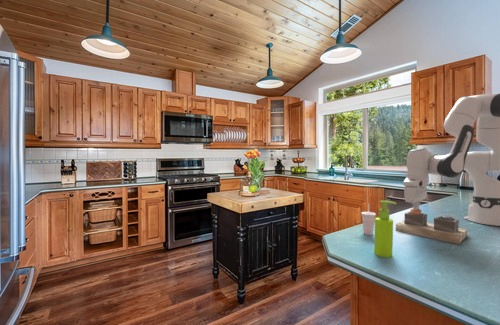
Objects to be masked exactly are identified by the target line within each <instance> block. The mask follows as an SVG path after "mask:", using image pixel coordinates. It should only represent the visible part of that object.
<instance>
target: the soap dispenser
mask: <svg viewBox="0 0 500 325" xmlns="http://www.w3.org/2000/svg"><path fill="white" fill-rule="evenodd" d="M379 203H380V204H381V208H379V209H378V216H377V217H375V222H374V251H373V252H374V254H375V255H376V256H379V257H383V258H391V257H393V240H394V239H393V238H394V220H393V219H392V218H390V210H389V209H388V204H392V205H395V206H396V205H397V202H395V201H392V200H391V201H390V200H380V201H379Z"/></svg>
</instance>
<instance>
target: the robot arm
mask: <svg viewBox="0 0 500 325" xmlns="http://www.w3.org/2000/svg"><path fill="white" fill-rule="evenodd" d="M475 123H476V132H475V129H474V128H473V127H474V124H475ZM443 129H444V131H445V132H446V133H447V134H449V135H450V136H453V137H455V139H454V142H453V144H452V146H451V149H450V152H449V153H447V154H444V155H442V154H441V155H438V154H435V153H433V152H431V151H430V150H428V149H427V148H425V147H420V148H419V147H418V148H412V149H410V150H409V151H408V154H407V156H406V169H407V170H406V177H405V179H404V180H403V184H402V185H403V186H404V189H403V192H404V193H403V194H404V195H403V196H404V202H406V203H411V204H412V208H413V209H414V210H418V209H420V205H421V201H422V200H425V199H427V198H428V186H429V175H434V176H442V177H446V178H452V179H453V178H456V177H458V176H460V175H461V174H462V173H463V171H465V172H466V173H467V174H468V175H469V176H470V177H471V179H472V181H473V195H472V197H471V198H472V203H471V204H469V205H468V212H467V215H466V216H464V217H463V219H464V220H468V221H470V222H474V223H477V224H482V225H488V226H489V225H490V226H500V180H499V179H497V178H494V177H491V176H490V175H488V174H487V172H495V173H496V172H498V173H499V172H500V93H482V94H475V95H465V96H462V97H459V99H457V100H456V102H455V103H454V105H453V107H452V109H450V111H449V113H447V116H446V117H445V119H444V123H443ZM475 133H476V134H475ZM475 135H476V136H475ZM474 136H475V138H476V139H475V140H476V142H477V143H478V144H480V145H483V146H485V147H487V148H489V149H491V150H488V151H485V150H484V151H483V150H473V151H470V148H471V145H472V142H473V141H474Z"/></svg>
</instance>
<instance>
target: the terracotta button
mask: <svg viewBox="0 0 500 325" xmlns="http://www.w3.org/2000/svg"><path fill="white" fill-rule="evenodd" d="M410 211H411V214H413V215H419V216H421V213H422V209H420V208H419V209H418V210H414V209H413V207H412V208H410Z"/></svg>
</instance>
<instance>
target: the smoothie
mask: <svg viewBox="0 0 500 325" xmlns="http://www.w3.org/2000/svg"><path fill="white" fill-rule="evenodd" d="M360 214H361V217H362V218H361V221H362V229H363V234H364V235H368V236H372V235H373V232H374V229H375V218H377V213H375V212H373V211H370V203H368V204H367V211H361V212H360Z"/></svg>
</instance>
